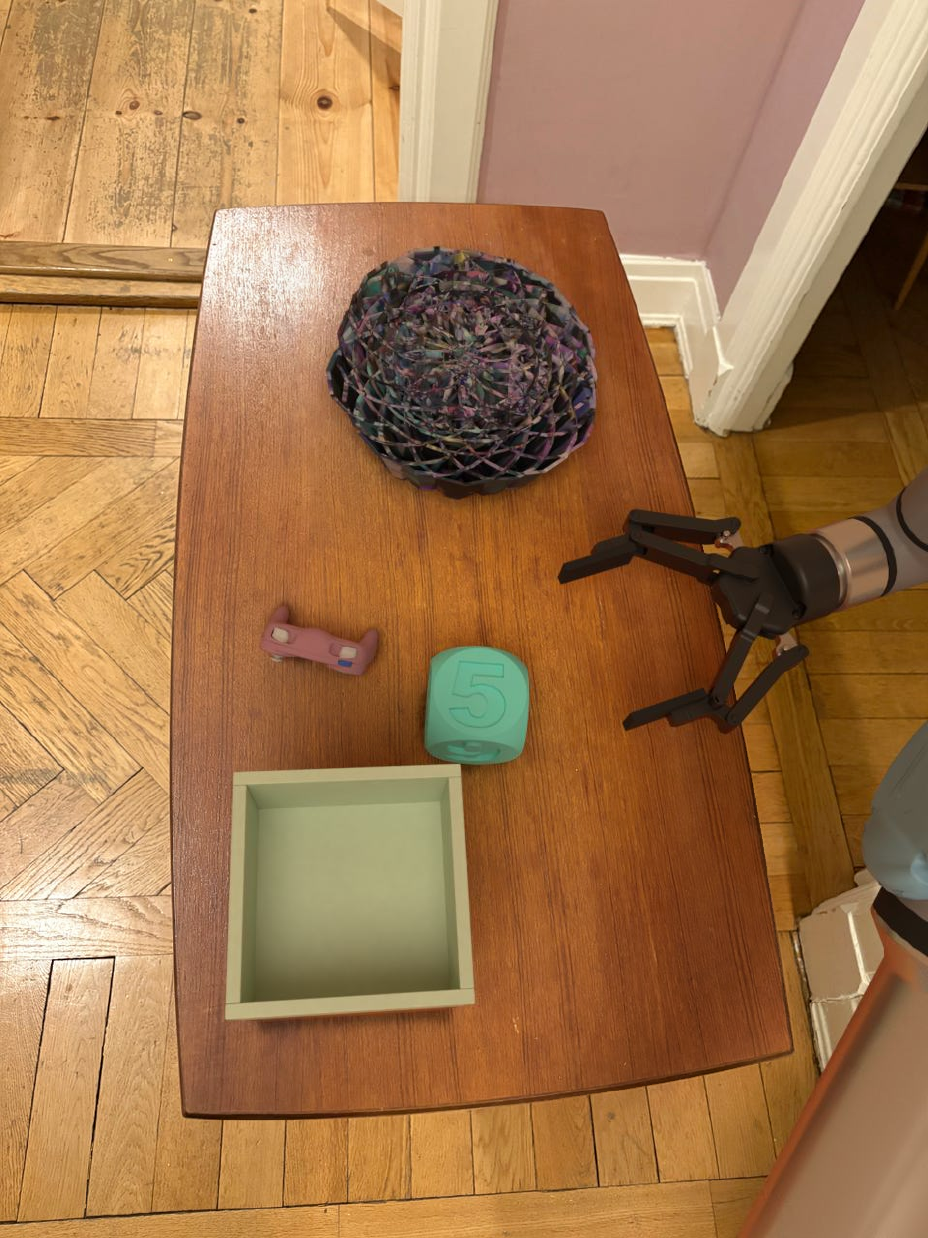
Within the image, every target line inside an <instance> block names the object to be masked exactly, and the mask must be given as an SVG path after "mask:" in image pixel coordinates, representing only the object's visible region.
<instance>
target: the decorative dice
mask: <svg viewBox="0 0 928 1238" xmlns="http://www.w3.org/2000/svg"><path fill="white" fill-rule="evenodd" d="M429 663H430V664H429V670H428V680H427V689H426V690H427V691H426V702H425V703H426V704H425V717H424V718H425V719H424V741H423V742H424V749H425V750H426V751H427V753H428V754H429V755H431V756H432V757H434V758H436V759H439V760H441V761H445V762H449V763H453V764H461V765H462V764H463V765H495V764H503V763H507V762H510V761H513V760H516V759H517V758H518V757H520V755H521V754H522V753H523V751H524V747H525V744H526V743H525V742H526V738H527V731H528V730H527V729H528V722H529V708H530V681H529V680H530V678H529V670H528V667H527V665H526V664H525V663H524V662H523V661H522V660H521V659H520V658H519V657H518V656H517V655H515V654H513V653H512V652H510V651H507V650H504V649H500V648H496V647H492V646H491V647H490V646H481V645H480V646H478V645H466V646H465V645H464V646H456V647H451V648H447V649H444V650H441V651H439V652H438V653H437V654H435V655H434V656H433V657H431V658H430V662H429Z"/></svg>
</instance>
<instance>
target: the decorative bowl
mask: <svg viewBox="0 0 928 1238" xmlns="http://www.w3.org/2000/svg"><path fill="white" fill-rule="evenodd" d="M342 317H343V318H342V320H341V323H340V325H339V326H338V329H337V332H336V336H337V339H338V346H337V348H336V349H335V350H334V351H333V352H332V355H331V357H330V359H329V362H328V364H327V366H326V369H325V374H326V381H327V388H328V395H329V396H330V398H331V399H332V400H333V401H334V402H335V403H336V404H337V406H338V407H340V409H342V411H343V412H344V413H345V414H347V416H348V418H349V421H350V423H351V425H352V427H354V428H355V429H356V433H357V434H358V436H360V438H361V439H362V440H363V442H364V443H365V444H366V445H367V446H368V447H369V448H370V449H371V451H372V452H373V453H374V454H375V455H376V456H377V457H378V459H379V460H380V462H381V464H382V465H383V466H384V467H385V469H386V470H387V471H388V472H389V473H390V474H391V476H393V477H395V478H396V479H398V480H401V481H409V483H410V484H411V485H413V486H414V487H416V488H417V489H419V490H420V491H436V490H438V491H439V492H440V493H441V494H442V495H443V496H444V497H445V498H448V499H452V500H456V501H457V500H461V499H465V498H468V497H471V496H473V495H475V493H476V494H478V495H480V496H491V495H497V494H498V493H501V492H502V491H503V490H507V491H512V490H513V491H514V490H517V489H523V487H525V486H527V485H528V484H529V483H531V482H532V481H533V480H535V479H536V478H538V477H539V476H540V475H542V474H546V473H547V472H549V471H550V470H552V469H553V468H555V467H556V466H557V465H559V464H561V463H562V462H563V461H565V460H567V459H568V458H569V455H570V454H572V452H575V450H577V449H579V448H580V447H582V446H584V445H585V444H586V443H587V442H588V440H589V438H590V436H591V433H592V431H593V429H594V427H595V423H596V422H595V420H596V419H595V418H596V417H595V416H596V408H597V382H598V381H597V380H598V378H599V377H598V372H597V369H596V366H595V362H594V359H595V357H596V354H597V352H596V348H595V344H594V341H593V337H592V333H591V329H590V328H588V326H587V325H586V324H585V323H584V322H583V321H582V320H581V319H580V317H579V315H578V312H577V311H576V308H575V306H574V305H573V304H572V303H570V302H569V301H568V299H567V298H566V297H565V296H564V295H563V294H562V293H561V292H560V290H559V289H558V288H557V287H556V285H554V283H553V282H551V280H549V279H547V278H544V277H543V276H541V275H538V274H536V272H534V271H532V270H531V269H529V268H527V267H526V266H524V265H523V264H521V263H519V262H518V261H516V260H514V259H513V258H509V257H503V256H498V255H495V254H491V253H487V252H483V251H480V250H477V249H472V248H461V249H453V248H451V247H450V248H449V247H445V246H441V245H434V246H426V247H419V248H411V249H409V250H408V251H406V252H405V253H403V254H401V255H400V256H398V257H396V258H395V259H390V260H385V261H384V262H382V263H380V264H379V265H378V266H376V267H375V268H373V269H372V270H370V271H369V272H367V273H365V274H364V276H363V277H362V280H361V283H360V285H359V287H358V289H357V290H356V291H355V292H353V294H352V295H351V298H350V303H349V307H348V309H347V310H346V311H345V313H344V315H343V316H342Z"/></svg>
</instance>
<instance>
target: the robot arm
mask: <svg viewBox="0 0 928 1238" xmlns="http://www.w3.org/2000/svg"><path fill="white" fill-rule="evenodd" d="M741 527H742V521H741V519H740V518H739V517H736V516H729V517H724V518H718V519H709V518H702V517H695V516H687V515H681V514H673V513H667V512H660V511H653V510H646V509H645V510H644V509H640V508H639V509H638V508H633V509H630V511H629V512H628V514H627V516H626V518H625V519H624V522H623V524H622V526H621V529H622V531H623V534H621V535H618V536H615V537H614V536H613V537H611V538H607V539H605V540H600V541H598V542H597V543H595V544H594V545H593V547H592V549H591V551H590V554H589V555H586V556H583V557H580V558H576V559H573V560H570V561H566V562H563V563H562V565H561V568H560V569H559V572H558V574H557V577H556V578H557V580H558V582H559V585H560V586H561V585H566V584H568V583H572V582H574V581H578V580H582V579H584V578H587V577H592V576H594V575H597V574H600V573H601V574H602V573H603V572H607V571H610V570H614V569H617V568H620V567H624V566H626V565H630V563H631V561H632V560H633V558H634V557H635V558H638V559H642V560H645V561H647V562H650V563H654V564H656V565H659V566H661V567H663V568H667V569H669V570H672V571H675V572H679V573H681V574H683V575H686V576H688V577H692V578H695V580H696V581H697V583H700V584H701V585H706V586H708V587H711V592H710V593H709V594H710V596H711V597H712V600H713V601H714V603H716V605H717V606H718V608H719V609H720V613H721V617H722V619H723V621H724V623H725V625H726V626H727V625H729V626H730V627H731V628H732V629H734V630H735V631H734V634H733V636H732V638H731V640H730V642H729V647H728V648H727V650H726V653H725V655H724V657H723V658H722V661H721V663H720V665H719V667H718V670H717V672H716V674H715V676H714V678H713V679H712V682H711V684H710V686H709V689H708V690H707V691H706V689H705V687H701V688H697V689H695V690H692V691H690V692H686V693H683V694H681V695H678V696H675V697H673V698H669V699H666V700H663V701H660V702H657V703H655V704H652V705H648V706H647V707H643V708H641V709H640V708H639V709H637V710H635V711H632V712H630V713H629V714H628V715H627V716H626V717H625V718H624V719H623V721H622V722H621V724H622V727H623V728H624V729H623V730H624V731H625V732H628V731H631V730H634V729H637V728H640V727H643V726H645V725H648V724H651V723H654V722H656V721H660V720H662V719H665V718H666V721H667V723H668V725H669V727H670V728H679V727H682V726H684V725H687V724H690V723H692V722H696V721H699V720H701V719H710V720H711V721H712V722H713V723H714V724H715V725H716V728H717V731H718V732H719V733H721V734H722V735H729V734H730V733H731V732H733V731H734V730H735V729H736V728H737V727H739V726H740V725H741V724H742V723H743V722H744V721H745V720H746V718H747V717H749V715H750V713H752V712H753V710H754V709H755V707H757V706H758V704H759V703H760V702H761V701H762V699H764V697H765V696H766V695H767V694H768V692H769V691H770V690H771V688H772V687H773V686H774V685H775V684H776V683H777V682H778V680H780V678H781V677H782V676H783V674H784V673H786V672H788V671H790V670H792V669H794V668H795V667H796V666H798V665H800V664H801V662H803V661H804V660H805V659H806V658H807V657H809V655H810V650H809V648H808V647H807V645H805V644H803V643H802V644H798V643H797V641H796V640H795V638H794V637H793V635H792V634H791V632H790V630H791V629H793V628H796V627H799V626H802V625H806V624H809V623H811V622H814V621H817V620H820V619H824V618H826V617H828V616H830V615H831V614H836V613H840V612H844V611H846V610H849V609H851V608H855V607H858V606H861V605H864V604H867V603H870V602H873V601H875V600H879V599H881V598H883V597H886V596H889V595H892V594H896V593H898V592H901V591H905V590H909V589H911V588H914V587H917V586H920V585H923V584H926V583H928V464H926V465H925V466H924V468H923V469H921V471H920V472H919V473H918V474H917V475H916V476H915V477H914V478H913V479H912V480H911V481H910V482H909V483H908V484H907V485H905V486H904V487H903V488H902V489H901V490H900V491H899V492H898V493H897V494H896V495H895V496H894V497H893V498H892V499H891V500H890V501H888V503H886V504H885V505H883V506H880V507H879V508H875V509H872V510H870V511H866V512H864V513H860V514H857V515H854V516H851V517H847V518H845V519H842V520H837V521H835V522H831V523H828V524H824V525H821V526H818V527H815V528H812V529H809V530H806V531H805V532H804V533H795V534H792V535H790V536H786V537H783V538H780V539H775V540H774V541H771V542H767V543H764V544H760V545H759V546H752V547H751V546H746V545H745V544H744V542H743V539H742V537H741V534H740V531H739V530H740V528H741ZM682 543H687V544H692V545H693V544H694V545H699V546H700V545H702V546H712V545H714V548H716V549H725V550H727V551H728V552H729V553H730V554H729V555H728V556H724V555H721V554H719V553H716V552H711V553H707V552H704V551H701V550H698V549H696V548H692V547H690V546H687V545H684V544H682ZM716 571H718V572H716ZM757 637H760V638H764V639H767V640H771V641H775V643H776V646H775V647H774V649H773V650H772V651H771V659H772V661H771V662H770V663H768V664H767V665H766V666H765V667H764V669H762V671H761V672H760V673H759V674H758V675H757V677H756V678H755V679H754V680H753V681H752V682H751V684H750V685H749V686H748V687H747V688H746V689H745V691H743V693H742V694H741V695H740V696H739V697H738V699H737V700H736V701H735V702H734V704H732V705H731V706H729V705H728V704H727V703H728V702H729V701H728V698H729V696H730V694H731V691H732V689H733V687H734V685H735V682H736V680H737V679H738V676H739V674H740V672H741V670H742V668H743V666H744V663H745V661H746V659H747V658H748V655H749V653H750V650H751V648H752V647H753V644H754V642H755V641H756V640H757ZM869 809H870V811H871V813H872V814H871V815H870V817H869V818H868V819H867V820H866V822H865V823H864V827H863V831H862V838H861V851H862V855H861V856H862V860H863V863H864V865H865V867H866V870H867V871H868V873H869V874H870V876H871V877H872V878H873V879H874V880H875V881H876V882H877V884H878V885H879V886H880V888H879V890H878V892H877V894H876V895H875V898H874V899H873V902H872V904H871V905H870V908H869V912H870V915H871V918H872V921H873V923H874V925H875V929H876V931H877V934H878V937H879V939H880V943H881V945H882V948H883V957H882V958H881V961H880V963H879V964H878V966H877V968H876V970H875V972H874V973H873V976H872V978H871V980H870V982H869V983H868V985H867V987H866V990H865V991H864V993H863V995H862V997H861V998H860V1001H859V1002H858V1003H857V1006H856V1008H855V1010H854V1012H853V1014H852V1015H851V1017H850V1020H849V1021H848V1023H847V1025H846V1027H845V1028H844V1031H843V1032H842V1035H841V1037H840V1038H839V1040H838V1042H837V1044H836V1046H835V1048H834V1050H833V1051H832V1053H831V1055H830V1057H829V1059H828V1061H827V1063H826V1064H825V1067H824V1068H823V1070H822V1072H821V1073H820V1076H819V1078H818V1080H817V1082H816V1084H815V1086H814V1088H813V1089H812V1091H811V1093H810V1095H809V1097H808V1099H807V1101H806V1103H805V1105H804V1106H803V1108H802V1110H801V1113H800V1114H799V1116H798V1118H797V1120H796V1122H795V1124H794V1126H793V1128H792V1129H791V1131H790V1134H789V1135H788V1137H787V1139H786V1141H785V1143H784V1144H783V1146H782V1148H781V1150H780V1152H779V1154H778V1156H777V1158H776V1160H775V1162H774V1163H773V1165H772V1167H771V1168H770V1171H769V1173H768V1175H767V1176H766V1179H765V1180H764V1183H763V1184H762V1186H761V1188H760V1189H759V1192H758V1194H757V1195H756V1197H755V1198H754V1199H755V1200H754V1201H753V1203H752V1204H751V1207H750V1209H749V1210H748V1213H746V1214H747V1215H746V1216H745V1218H744V1220H743V1222H742V1223H741V1226H740V1228H739V1230H738V1232H737V1233H736V1235H735V1237H734V1238H928V719H927V720H926V721H925V722H924V723H923V724H922V725H921V726H920V727H919V728H918V729H917V730H916V731H915V732H914V734H913V735H912V736H911V737H910V739H908V741H907V742H906V743H905V744H904V746H903V747H902V748H901V749H900V751H899V753H898V754H897V756H896V757H895V758H894V759H893V760H892V763H890V765H889V767H888V769H887V771H886V772H885V774H884V776H883V778H882V779H881V781H880V783H879V785H878V787H877V789H876V791H875V794H874V795H873V798H872V800H871V802H870V805H869Z"/></svg>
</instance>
